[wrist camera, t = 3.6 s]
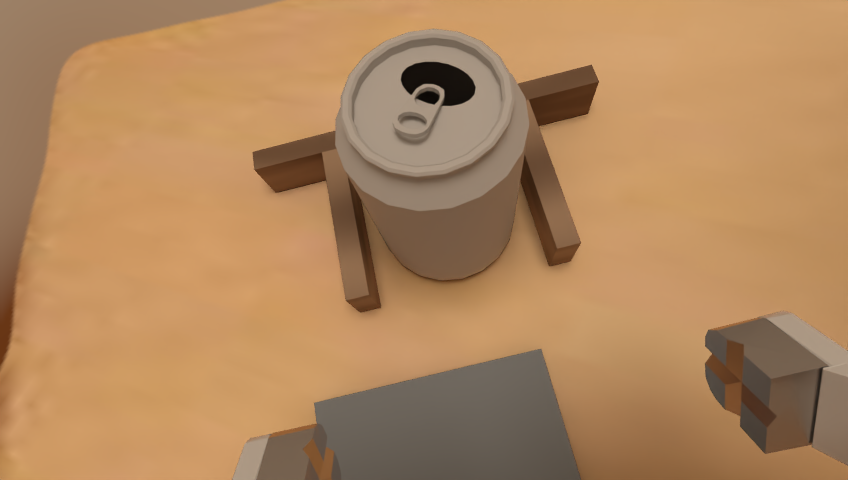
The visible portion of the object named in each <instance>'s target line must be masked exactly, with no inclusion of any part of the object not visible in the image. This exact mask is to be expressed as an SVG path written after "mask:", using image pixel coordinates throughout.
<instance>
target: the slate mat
mask: <svg viewBox="0 0 848 480" xmlns="http://www.w3.org/2000/svg"><path fill="white" fill-rule="evenodd" d="M314 405H315V413H316V421H317V423H318V424H321V425H322V426H323V428H324V430H325V432H326V434H327V443H326V447H327V448H329V449H331V450H333V451H334V452H335V454H336V457H337V459H338V463H339V466H340V470H341V480H581V478H580V475H579V471H578V468H577V465H576V461H575V458H574V455H573V452H572V448H571V445H570V442H569V439H568V435H567V432H566V429H565V425H564V422H563V419H562V416H561V412H560V409H559V406H558V403H557V399H556V396H555V393H554V389H553V386H552V383H551V380H550V376H549V373H548V370H547V367H546V363H545V360H544V357H543V353H542V350H541V349H538V350H534V351H530V352H526V353H522V354H517V355H513V356H509V357H505V358H501V359H496V360H492V361H488V362H484V363H480V364H475V365H471V366H467V367H463V368H459V369H454V370H450V371H446V372H442V373H438V374H433V375H429V376H425V377H421V378H417V379H412V380H408V381H404V382H400V383H396V384H392V385H387V386H383V387H379V388H375V389H371V390H366V391H362V392H358V393H354V394H350V395H345V396H341V397H337V398H333V399H329V400H324V401H320V402H316V403H314Z"/></svg>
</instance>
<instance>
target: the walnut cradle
mask: <svg viewBox="0 0 848 480" xmlns="http://www.w3.org/2000/svg"><path fill="white" fill-rule="evenodd" d="M598 83H599V81H598V78H597V76H596V74H595V72H594V69H593V67H592V65H589V66H585V67H581V68H577V69H573V70H570V71H566V72H562V73H558V74H554V75H550V76H546V77H542V78H538V79H535V80H531V81H527V82H523V83H519V84H518V86H519V87H520V89H521V91H522V93H523V94H524V96H525V98H526V105H527V111H528V118H529V130H528V136H527V142H526V148H525V154H524V160H523V167H522V173H521V179H520V180H521V183H522V186H523V189H524V192H525V195H526V198H527V201H528V204H529V207H530V210H531V213H532V216H533V219H534V222H535V225H536V228H537V231H538V234H539V237H540V240H541V243H542V246H543V249H544V252H545V255H546V258H547V261H548V264H549V266H553V265H557V264H561V263H565V262H569V261H571V259H572V258H573V256H574V254H575V253H576V251H577V249H578V247H579V246H580V244H581V241H580V238H579V236H578V233H577V230H576V227H575V225H574V222H573V219H572V217H571V214H570V211H569V208H568V206H567V203H566V200H565V197H564V195H563V192H562V189H561V186H560V184H559V181H558V178H557V176H556V173H555V170H554V167H553V165H552V162H551V159H550V156H549V154H548V151H547V148H546V146H545V143H544V140H543V137H542V135H541V132H540V129H539V126H540V125H544V124H548V123H552V122H556V121H560V120H564V119H568V118H572V117H576V116H580V115H584V114H588V111H589V108H590V106H591V103H592V100H593V97H594V94H595V91H596V88H597V86H598ZM335 132H336V131H333V132H329V133H325V134H321V135H317V136H313V137H309V138H305V139H301V140H298V141H294V142H290V143H286V144H282V145H278V146H274V147H270V148H266V149H263V150H259V151H255V152H253V161H254V170H255V171H256V172H257V173H258V174H259V175H260V176H261V177H262V178H263V179H264V181H265V182H266V183H267V184H268V185H269V186H270V187H271V188H272V189H273V190H274V191H275V192H276V193H277V192H281V191H285V190H289V189H292V188H296V187H300V186H304V185H308V184H312V183H316V182H320V181H324V180H326V181H327V187H328V193H329V199H330V205H331V212H332V218H333V224H334V230H335V237H336V243H337V249H338V255H339V261H340V268H341V274H342V280H343V286H344V292H345V299H346V301H347V302H348V303H349V304H351V305H352V306H353V307H354V308H356V309H357V310H358V311H359V312H364V311H368V310H372V309H376V308H381V304H380V299H379V294H378V289H377V283H376V278H375V273H374V267H373V262H372V257H371V251H370V246H369V241H368V235H367V230H366V225H365V219H364V214H363V209H362V203H361V198H360V197H359V195H358V193H357V191H356V190H355V188H354V186H353V184H352V182H351V181H350V179H349V177H348V175H347V174H346V172H345V170H344V168H343V165H342V162H341V159H340V157H339V154H338V151H337V148H336V146H335Z"/></svg>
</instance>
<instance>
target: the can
mask: <svg viewBox="0 0 848 480" xmlns="http://www.w3.org/2000/svg"><path fill="white" fill-rule="evenodd" d="M528 130H529V118H528V111H527V105H526V98H525V96H524V94H523V93H522V91H521V89H520V87H519V86H518V84H517V82H516V80H515V79H514V77H513V75H512V74H511V73H509V71H508V70H507V68H506V66H505V64H504V63H503V61H502V59H501V57H500V56H499V55H498V54H496V53H495V52H494V51H493V50H492V49H490V48H489V47H488V46H487V45H486V44H485V43H483V42H482V41H480V40H477V39H475V38H473V37H470V36H468V35H466V34H463V33H461V32H456V31H448V30H440V29H429V30H421V31H413V32H408V33H405V34H402V35H400V36H397V37H395V38H392V39H390V40H387V41H385V42H383V43H382V44H380V45H379V46H378V47H376V48H375V49H373V50H372V51H371V52H369V53H368V54H366V55H365V56H364V57H363V58H362V59H361V61H360V62H359V63H358V64H357V66H356V67H355V68H354V69H353V71H352V72H351V73H350V75H349V77H348V79H347V82H346V84H345V87H344V90H343V92H342V95H341V107H340V109H339V112H338V115H337V117H336V132H335V146H336V148H337V151H338V154H339V157H340V159H341V162H342V165H343V168H344V170H345V172H346V174H347V175H348V177H349V179H350V181H351V182H352V184H353V186H354V188H355V190H356V191H357V193H358V195H359V197H360V198H361V200H362V202H363V204H364V205H365V207H366V209H367V211H368V212H369V214H370V216H371V218H372V219H373V221H374V223H375V225H376V227H377V228H378V230H379V232H380V234H381V235H382V237H383V239H384V241H385V242H386V244H387V246H388V248H389V249H390V251H391V252H392V253H393V254H394V256H395V257H396V258H397V259H398V260H399V262H400V263H401V264H402V265H403V266H405V267H406V268H408V269H410V270H411V271H413V272H415V273H416V274H418V275H420V276H424V277H428V278H432V279H437V280H453V279H463V278H465V277H468V276H470V275H473V274H475V273H478V272H480V271H483V270H484V269H485V268H486V267H487V266H489V265H490V264H491V263H492V262H493V261H495V260H496V259H497V258H498V257H499V256H500V254H501V253H502V251H503V249H504V248H505V246H506V245H507V243H508V241H509V240H510V235H511V231H512V226H513V222H514V216H515V210H516V204H517V198H518V191H519V185H520V179H521V173H522V167H523V160H524V154H525V148H526V142H527V136H528Z"/></svg>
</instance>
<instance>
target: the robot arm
mask: <svg viewBox="0 0 848 480" xmlns="http://www.w3.org/2000/svg"><path fill="white" fill-rule="evenodd" d="M705 346H706V347H707V348H708V349H709V350H710V351H711V352H712V355H711V356H710V357H709V359H708V360H707V362H706V363H705V373H706V379H707V382H708V385H709V387H710V390H711V392H712V393H713V395H714V397H715V398H716V400H717V401H718V402H719V403H720V404H721V405H722V407H723V408H724V409H725V410H728V411H730V412H732V413H735V414H737V415H739V416H740V427H741V428H742V429H743V430H744V431H745V432H746V433H747V434H748V436H749V437H750V438H751V439H752V440H753V441H754V442H755V443H756V444H757V445H758V446H759V448H760V449H761V450H762V451H763V452H764V453H765V454H767V453H772V452H777V451H782V450H787V449H792V448H797V447H802V446H807V445H812V447H813V448H815V449H817V450H819V451H821V452H823V453H825V454H827V455H828V456H830V457H832V458H834V459H836V460H838V461H840V462H842V463H844V464H846V465H848V351H847V350H846V349H844V348H843V347H841V346H840V345H838V344H837V343H835V342H834V341H832V340H831V339H829V338H828V337H826V336H825V335H824V334H822V333H821V332H819V331H818V330H816V329H815V328H813V327H812V326H810V325H809V324H807V323H806V322H805V321H803V320H802V319H800V318H799V317H797V316H796V315H794V314H793V313H791V312H787V311H780V312H776V313H772V314H768V315H764V316H761V317H758V318H754V319H750V320H746V321H742V322H738V323H734V324H730V325H726V326H722V327H718V328H714V329H710V330H708V332H707V334H706V336H705ZM326 443H327V434H326V432H325V430H324V428H323V426H322V425H321V424H318V423H317V424H312V425H308V426H303V427H298V428H294V429H289V430H284V431H280V432H275V433H272V434H268V435H263V436H259V437H254V438H250V439H249V440H248V441H247V442H246V443H245V445H244V447H243V450H242V453H241V456H240V458H239V461H238V464H237V467H236V470H235V473H234V475H233V478H232V480H341V470H340V466H339V463H338V459H337V457H336V454H335V452H334V451H333V450H331V449H329V448H327V447H326Z"/></svg>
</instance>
